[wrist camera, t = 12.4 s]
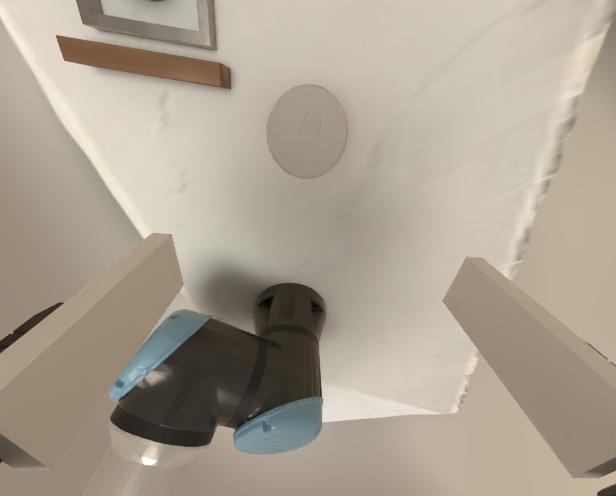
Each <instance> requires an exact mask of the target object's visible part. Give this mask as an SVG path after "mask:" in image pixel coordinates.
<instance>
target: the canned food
mask: <svg viewBox="0 0 616 496" xmlns="http://www.w3.org/2000/svg"><path fill="white" fill-rule="evenodd" d="M267 138H268V144H269V148H270V151H271V154H272V156H273V158H274V159H275V161H276V162H277V164H278V165H279V166H280V167H281V168H282V169H283V170H284V171H286V172H287V173H289V174H290V175H293V176H295V177H299V178H314V177H318V176H320V175H322V174H324V173H326V172H327V171H329V170H330V169H331V168H332V167H333V166H334V165H335V164H336V163H337V161H338V160H339V159H340V157H341V155H342V153H343V151H344V148H345V144H346V141H347V121H346V117H345V113H344V111H343V109H342V107H341V105H340V103H339V102H338V100H337V99H336V98H335V96H333V95H332V94H331V93H330V92H329V91H327V90H325V89H323V88H322V87H319V86H315V85H302V86H298V87H295V88H293V89H291V90H289V91H287V92H286V93H285V94H284V95H283V96H282V97H280V99H279V100H278V101H277V103H276V104H275V106H274V108H273V110H272V112H271V114H270V118H269V121H268V128H267Z"/></svg>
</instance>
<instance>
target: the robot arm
mask: <svg viewBox="0 0 616 496" xmlns="http://www.w3.org/2000/svg"><path fill="white" fill-rule="evenodd" d="M183 285H184V284H183V280H182V275H181V271H180V267H179V263H178V259H177V255H176V251H175V247H174V242H173V238H172V234H159V233H152V234H151V235H150V236H148V237H147V238H146V239H145V240H143V241H142V242H141V243H140V244H138V245H137V246H136V247H135V248H133V249H132V250H131V251H129V252H128V253H127V254H126V255H124V256H123V257H122V258H121V259H119V260H118V261H117V262H116V263H114V264H113V265H112V266H111V267H109V268H108V269H107V270H106V271H104V272H103V273H102V274H100V275H99V276H98V277H97V278H95V279H94V280H93V281H92V282H90V283H89V284H88V285H87V286H85V287H84V288H83V289H81V290H80V291H79V292H78V293H77V294H75V295H74V296H73V297H71V298H70V299H69V300H67V301H66V302H65V303H57V304H56V305H54V306H52V307H50V308H48V309H46V310H44V311H42V312H40V313H38V314H36V315H34V316H33V317H32V318H30V319H29V320H28V321H26V322H25V323H24V324H22V325H21V326H20V327H18V328H17V329H16V330H14V333H13V334H9V335H8V336H6V337H5V338H4V339H2V340H1V341H0V463H1V461H3V462H4V463H6V464H8V465H9V466H11V467H13V468H14V469H16V470H23V471H53V470H54V468H55V467H56V465H57V464H58V462H59V461H60V460H61V458H62V457H63V455H64V454H65V453H66V451H67V450H68V448H69V447H70V445H71V444H72V443H73V441H74V440H75V438H76V437H77V436H78V434H79V433H80V431H81V430H82V428H83V427H84V426H85V424H86V423H87V421H88V420H89V418H90V417H91V415H92V414H93V413H94V411H95V410H96V409H97V407H98V406H99V404H100V403H101V401H102V400H103V399H104V397H105V396H106V394H107V393H108V392H109V397H110V398H112V400H113V401H115V402H117V401H119V404H118V405H117V407H116V408H115V410H114V412H113V413H112V415H111V417H110V418H109V421H108V425H109V429H110V433H111V437H112V444H111V445H110V447H109V449H108V451H107V452H106V454H105V456H104V458H103V459H102V461H101V463H100V465H99V466H98V468H97V470H96V472H95V473H94V475H93V477H92V478H91V480H90V482H89V484H88V485H87V487H86V489H85V491H84V493H83V494H82V496H175V494H176V492H177V489H178V487H179V485H180V482H181V480H182V477H183V475H184V473H185V470H186V468H187V465H188V463H189V461H190V460H191V459H192V458H193V457H194V456H196V455H197V454H198V453H200V452H201V451H203V450H204V449H206V448H207V447H208V446H209V444H210V443H211V440H212V438H213V435H214V432H215V430H216V428H217V426H218V425H220V426H226V427H230V428H233V429H235V430H236V431H235V432H234V435H233V438H234V445H235V447H236V448H237V449H238V450H241V451H242V452H244V453H249V454H276V453H282V452H287V451H292V450H295V449H298V448H301V447H303V446H306V445H307V444H309V443H311V442H312V441H313V440H315V438H316V437H317V436H318V435H319V433H320V431H321V427H322V404H323V398H322V389H321V373H320V357H319V339H320V336H321V333H322V330H323V327H324V323H325V319H326V312H325V304H324V302H323V300H322V298H321V297H320V296H319V295H318V294H317V293H316V292H315V291H313V290H312V289H310V288H308V287H305V286H302V285H298V284H279V285H275V286H272V287H270V288H268V289H266V290H265V291H263V292H262V293H261V294H260V295H259V297H258V298H257V300H256V303H255V307H254V311H253V318H254V325H255V332H256V335H254V334H252V333H249V332H246V331H244V330H241V329H239V328H236V327H233V326H231V325H228V324H226V323H223V322H220V321H218V320H215V319H213V318H211V317H212V316H210V315H208V316H206V315H203V314H200V313H197V312H194V311H191V310H187V309H181V310H178V311H175V312H173V313H172V314H171V315H170V316H168V317H167V318H166V319H165V320H164V321H163V322H162V324H161V325H160V326H159V327H158V328H157V329H156V330H155V331H154V333H153V334H152V335H151V336H150V337H149V338H148V340H147V341H146V342H145V343H144V345H143V346H142V347H141V348H140V349H139V347H140V346H141V345H142V343H143V342H144V340H145V339H146V338H147V336H148V335H149V333H150V332H151V330H152V329H153V328H154V326H155V325H156V323H157V322H158V320H159V319H160V318H161V316H162V315H163V313H164V312H165V311H166V309H167V308H168V306H169V305H170V303H171V302H172V301H173V299H174V298H175V296H176V295H177V294H178V292H179V291H180V289H181V288H182V286H183ZM443 302H444V304H445V305H446V307H447V308H448V309H449V311H450V312H451V313H452V315H453V316H454V317H455V319H456V320H457V321H458V323H459V324H460V326H461V327H462V328H463V330H464V331H465V332H466V334H467V335H468V336H469V338H470V339H471V340H472V342H473V343H474V345H475V346H476V347H477V349H478V350H479V351H480V353H481V354H482V355H483V357H484V358H485V359H486V361H487V362H488V363H489V365H490V366H491V368H492V369H493V370H494V371H495V373H496V374H497V375H498V377H499V378H500V380H501V381H502V382H503V384H504V385H505V387H506V388H507V389H508V391H509V392H510V393H511V395H512V396H513V397H514V399H515V400H516V401H517V403H518V404H519V406H520V407H521V408H522V410H523V411H524V412H525V414H526V415H527V416H528V418H529V419H530V420H531V422H532V423H533V425H534V426H535V427H536V429H537V430H538V431H539V433H540V434H541V435H542V437H543V438H544V440H545V441H546V442H547V444H548V445H549V446H550V447H551V449H552V450H553V452H554V453H555V454H556V456H557V457H558V459H559V460H560V461H561V463H562V464H563V465H564V467H565V468H566V469H567V471H568V472H569V473H570V475H571V476H572V477H573V478H600V477H602V476H605V475H607V474H609V473H611V472H614V471H616V365H615V364H613V363H612V362H609V361H608V360H607V358H606V357H605V356H603V355H602V354H601V353H600V352H598V351H597V350H596V349H595V348H594V347H592V346H591V345H590V344H588V343H587V342H585V341H584V340H582V339H581V338H580V337H579V336H577V335H576V334H575V333H574V332H573V331H571V330H570V329H569V328H568V327H566V326H565V325H564V324H563V323H562V322H560V321H559V320H558V319H557V318H555V317H554V316H553V315H552V314H550V313H549V312H548V311H547V310H546V309H544V308H543V307H542V306H541V305H539V304H538V303H537V302H536V301H534V300H533V299H532V298H531V297H530V296H528V295H527V294H526V293H525V292H523V291H522V290H521V289H520V288H518V287H517V286H516V285H515V284H513V283H512V282H511V281H510V280H509V279H507V278H506V277H505V276H504V275H502V274H501V273H500V272H499V271H498V270H496V269H495V268H494V267H493V266H491V265H490V264H489V263H488V262H486V261H485V260H484V259H483V258H475V257H466V259H465V260H464V262H463V264H462V266H461V268H460V270H459V271H458V273H457V275H456V277H455V279H454V281H453V282H452V284H451V286H450V288H449V290H448V292H447V293H446V295H445V297H444V299H443ZM138 349H139V351H138V352H137V350H138ZM136 352H137V353H136ZM135 353H136V354H135ZM134 355H135V356H134ZM133 356H134V357H133ZM132 357H133V358H132ZM131 359H132V360H131ZM130 360H131V361H130ZM120 374H121V375H120ZM118 377H119V378H118ZM116 380H117V381H116ZM109 390H110V391H109ZM597 494H598V495H597V496H616V484H614V485H612V486H609V487H607V488H605V489H602V490H601V491H599V492H598V493H597Z"/></svg>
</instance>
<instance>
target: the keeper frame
mask: <svg viewBox="0 0 616 496" xmlns="http://www.w3.org/2000/svg"><path fill="white" fill-rule="evenodd" d="M76 2H77V5H78V9H79V12H80V16H81V19H82V23H83V24H85V25H87V26H90V27H92V28H95V29H98V30H103V31H109V32H115V33H120V34H126V35H132V36H138V37H143V38H149V39H155V40H161V41H166V42H172V43H178V44H184V45H189V46H195V47H201V48H207V49H212V50H216V34H215V17H214V0H197V7H198V19H199V30H200V32H196V31H191V30H185V29H180V28H174V27H168V26H163V25H157V24H152V23H146V22H141V21H135V20H129V19H124V18H118V17H113V16H107V15H103V11H102V7H101V3H100V0H76Z"/></svg>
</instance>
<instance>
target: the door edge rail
mask: <svg viewBox="0 0 616 496" xmlns="http://www.w3.org/2000/svg"><path fill="white" fill-rule="evenodd" d="M56 38H57V41H58V44H59V47H60V50H61V52H62V55H63V58H64V61H68V62H73V63H78V64H84V65H89V66H94V67H100V68H106V69H112V70H118V71H124V72H130V73H137V74H143V75H149V76H155V77H161V78H167V79H174V80H180V81H186V82H192V83H198V84H204V85H211V86H217V87H223V88H229V89H231V77H230V68H228V67H226V66H224V65H222V64H220V63H217V62H211V61H205V60H199V59H193V58H187V57H182V56H176V55H170V54H164V53H158V52H152V51H146V50H140V49H135V48H129V47H123V46H117V45H111V44H105V43H99V42H93V41H87V40H82V39H76V38H70V37H64V36H58V35H56Z"/></svg>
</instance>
